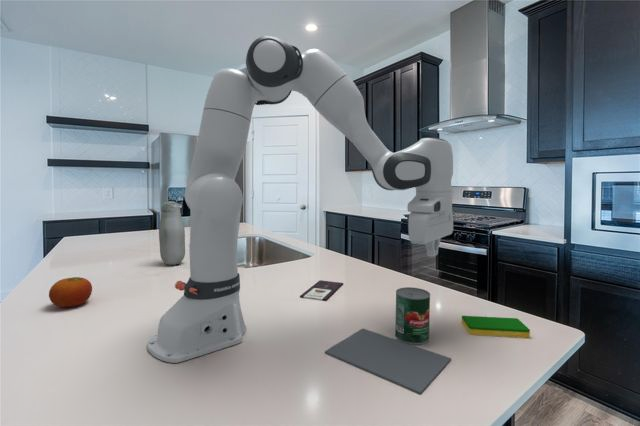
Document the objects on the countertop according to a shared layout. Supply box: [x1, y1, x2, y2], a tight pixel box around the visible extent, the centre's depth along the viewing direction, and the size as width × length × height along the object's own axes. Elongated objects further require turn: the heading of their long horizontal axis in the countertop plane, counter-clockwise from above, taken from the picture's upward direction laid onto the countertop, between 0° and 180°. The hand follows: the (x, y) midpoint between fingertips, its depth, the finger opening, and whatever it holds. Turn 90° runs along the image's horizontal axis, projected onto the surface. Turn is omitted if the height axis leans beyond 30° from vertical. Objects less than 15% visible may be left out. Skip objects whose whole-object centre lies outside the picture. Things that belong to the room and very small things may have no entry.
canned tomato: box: [394, 286, 431, 346], centre depth 81 cm, size 8×8×11 cm
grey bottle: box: [158, 200, 186, 266], centre depth 149 cm, size 10×10×28 cm
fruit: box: [48, 276, 93, 308], centre depth 102 cm, size 11×10×8 cm
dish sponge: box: [461, 315, 531, 339], centre depth 86 cm, size 7×14×2 cm, turn 82°
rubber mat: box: [324, 328, 452, 395], centre depth 73 cm, size 15×22×1 cm
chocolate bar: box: [299, 279, 344, 302], centre depth 116 cm, size 9×1×18 cm
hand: (432, 256), depth 88 cm, fingers closed
